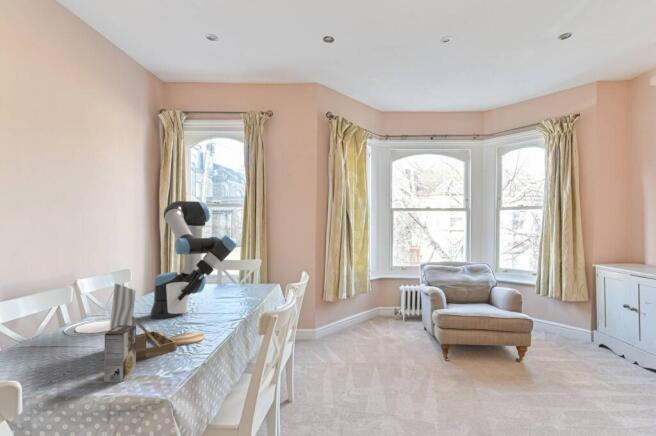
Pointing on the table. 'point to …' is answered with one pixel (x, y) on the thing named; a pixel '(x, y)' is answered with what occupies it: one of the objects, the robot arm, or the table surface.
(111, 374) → the coffee box
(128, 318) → the cold frame
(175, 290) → the candle holder
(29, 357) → the table surface
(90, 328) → the plate
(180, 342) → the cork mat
